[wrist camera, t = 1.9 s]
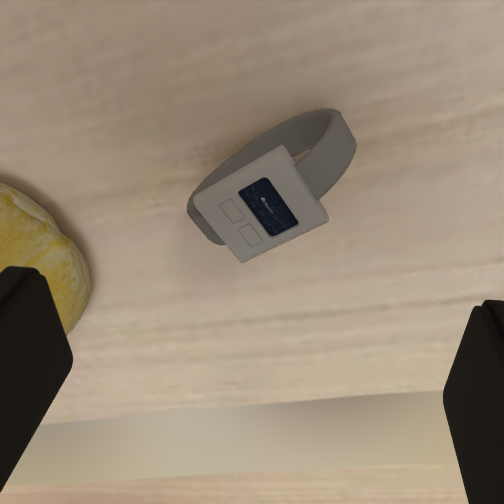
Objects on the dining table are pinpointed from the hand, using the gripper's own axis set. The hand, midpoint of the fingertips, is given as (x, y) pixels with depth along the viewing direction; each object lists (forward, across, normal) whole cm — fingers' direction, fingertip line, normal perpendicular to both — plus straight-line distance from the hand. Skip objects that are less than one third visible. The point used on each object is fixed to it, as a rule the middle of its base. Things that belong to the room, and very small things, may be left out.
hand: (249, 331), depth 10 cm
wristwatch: (+10, 0, 0) cm, 10 cm away
